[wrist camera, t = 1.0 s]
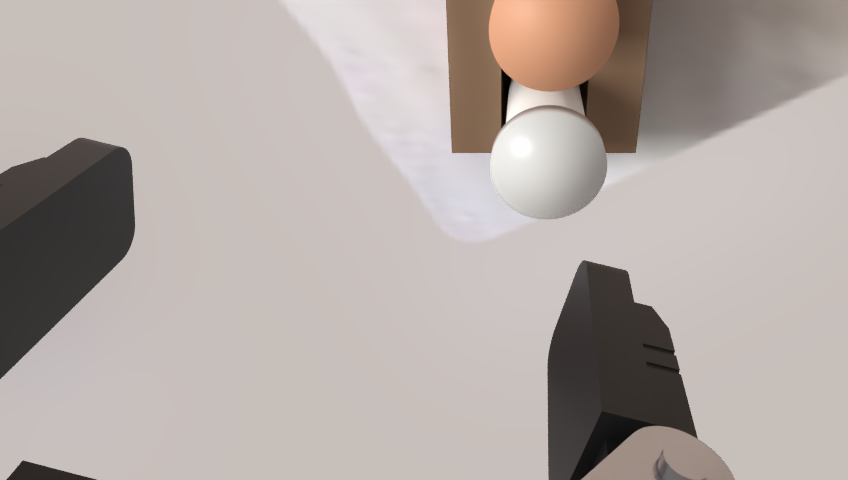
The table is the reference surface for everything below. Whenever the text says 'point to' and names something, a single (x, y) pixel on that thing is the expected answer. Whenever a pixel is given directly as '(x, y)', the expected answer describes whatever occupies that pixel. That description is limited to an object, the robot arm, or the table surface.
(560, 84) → the plug terracotta
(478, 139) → the walnut block
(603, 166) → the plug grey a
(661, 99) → the table surface
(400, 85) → the table surface
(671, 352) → the robot arm
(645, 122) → the table surface
